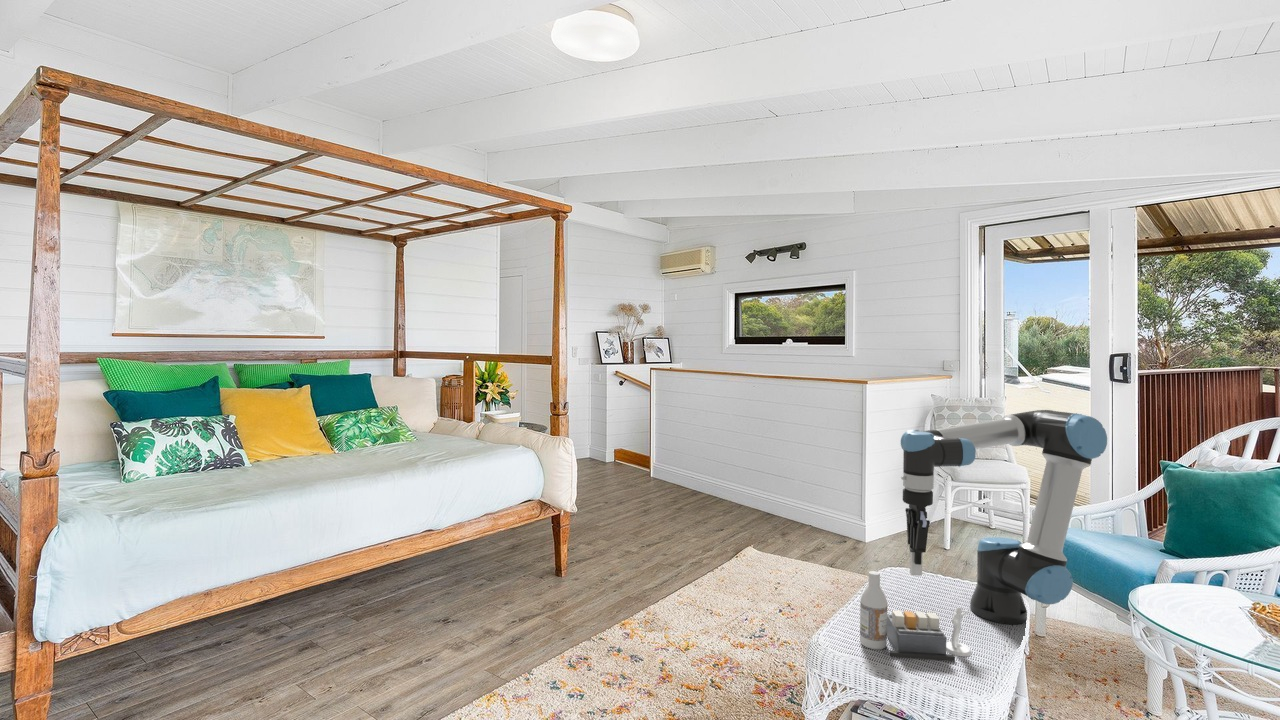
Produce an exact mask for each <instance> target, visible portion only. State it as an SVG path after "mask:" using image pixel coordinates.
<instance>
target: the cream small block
mask: <svg viewBox="0 0 1280 720" xmlns="http://www.w3.org/2000/svg"><path fill="white" fill-rule="evenodd" d="M891 614H892V622H893V623H894V625H895V627H904V613H902V611H901V610H892V612H891Z"/></svg>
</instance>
